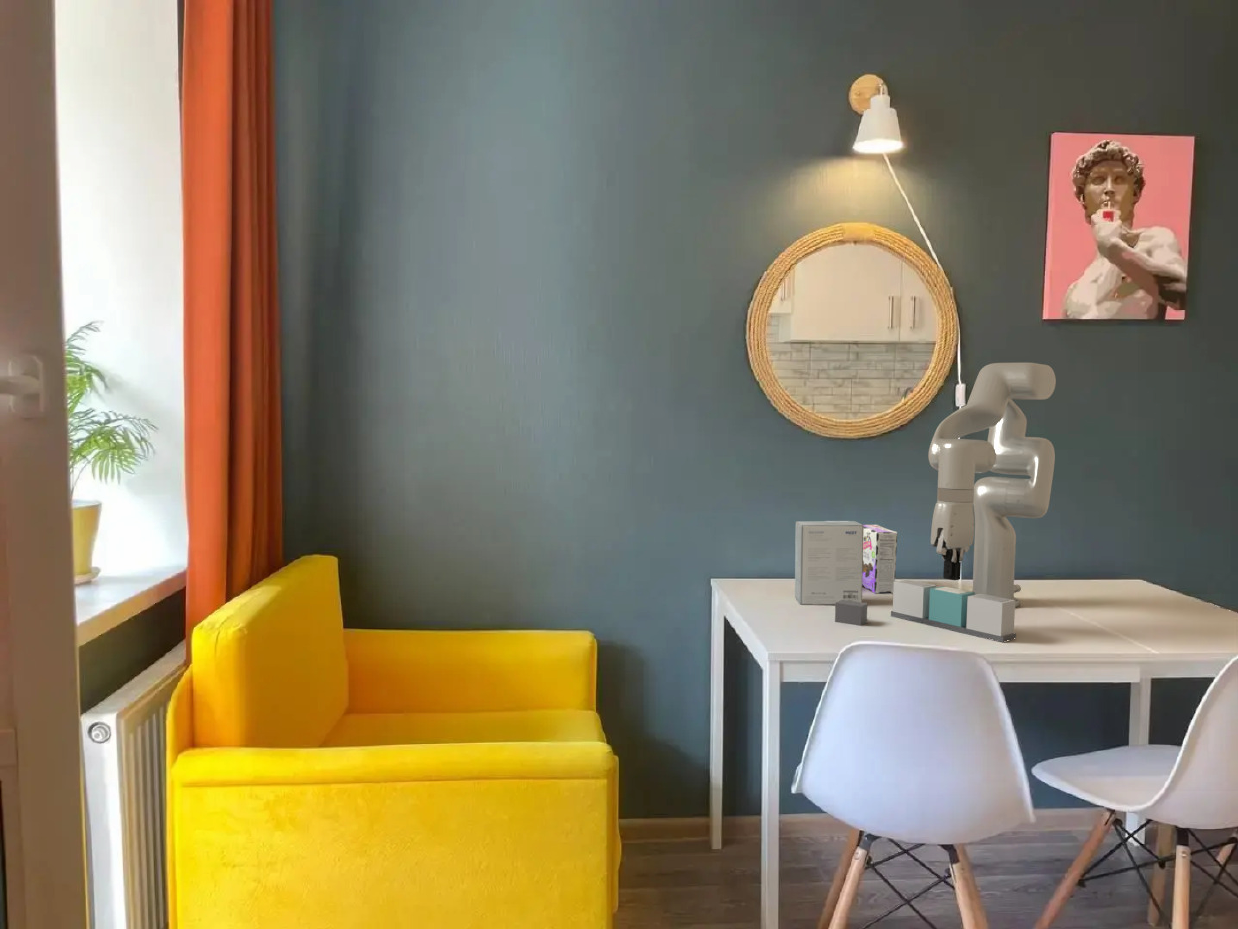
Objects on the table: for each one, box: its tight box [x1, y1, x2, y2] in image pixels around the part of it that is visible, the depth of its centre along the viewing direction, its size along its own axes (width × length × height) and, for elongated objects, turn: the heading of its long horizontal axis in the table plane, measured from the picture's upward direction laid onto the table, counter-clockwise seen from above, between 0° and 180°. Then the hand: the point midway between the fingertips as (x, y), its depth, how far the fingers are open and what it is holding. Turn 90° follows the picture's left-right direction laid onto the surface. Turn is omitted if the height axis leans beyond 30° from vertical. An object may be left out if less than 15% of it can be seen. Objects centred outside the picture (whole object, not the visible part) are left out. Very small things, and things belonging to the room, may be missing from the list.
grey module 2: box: [966, 594, 1016, 636], centre depth 195 cm, size 8×5×7 cm, turn 37°
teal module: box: [929, 585, 975, 627], centre depth 203 cm, size 5×8×7 cm, turn 36°
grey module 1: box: [892, 579, 938, 618], centre depth 210 cm, size 8×5×7 cm, turn 37°
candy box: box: [862, 524, 898, 594], centre depth 244 cm, size 14×6×16 cm, turn 6°
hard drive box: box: [794, 520, 864, 606], centre depth 227 cm, size 16×8×20 cm, turn 90°
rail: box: [890, 610, 1017, 643], centre depth 203 cm, size 28×5×1 cm, turn 37°
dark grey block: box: [834, 600, 868, 627], centre depth 206 cm, size 4×6×4 cm, turn 56°
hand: (951, 579), depth 202 cm, fingers closed
